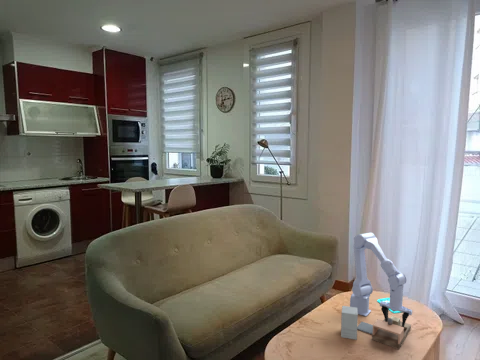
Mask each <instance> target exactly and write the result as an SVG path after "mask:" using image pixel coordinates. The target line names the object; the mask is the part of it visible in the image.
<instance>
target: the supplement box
mask: <svg viewBox="0 0 480 360" xmlns="http://www.w3.org/2000/svg"><path fill="white" fill-rule="evenodd" d="M358 316H359V314H358V310H357V308H355V307H350V306H349V305H347V306H346V305H342V307H341V326H340V327H341V328H340V337H341V338H344V339H345V338H346V339H350V340H356V341H357V340H358V330H357V326H358V322H359V321H358V318H359V317H358Z"/></svg>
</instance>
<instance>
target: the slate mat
mask: <svg viewBox="0 0 480 360" xmlns="http://www.w3.org/2000/svg"><path fill="white" fill-rule="evenodd" d="M357 331H360V332H364V333H366V334H369V335H371V336H372V335H373V324H371V323H367V322H364V321H361V322H360V323H359V324H357Z"/></svg>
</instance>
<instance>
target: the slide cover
mask: <svg viewBox="0 0 480 360" xmlns="http://www.w3.org/2000/svg"><path fill="white" fill-rule="evenodd" d="M372 325H373V335H374V334H375V333H376V332H377V330H378V329H382V330H385V331H388V332H391V333H394V334H397V335H398V344H400V342H401V341H402V339H403V335H404V333H405V331H404V327H401V326H398V325H395V324H392V319H391V317H388V322H385V321H383V320H382V319H379V318H377V319H376V320H375V321H374V323H373V324H372Z"/></svg>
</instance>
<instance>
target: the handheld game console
mask: <svg viewBox="0 0 480 360" xmlns="http://www.w3.org/2000/svg"><path fill="white" fill-rule="evenodd" d="M381 301H382V302H388V303H390V297H385V298H384V297H383V298H379V299H377V301H376V302H377V303H379V304H380V302H381ZM389 311H390V312H391V313H392V314H401V313H402V312H400V311H393V310H391V309H390V308H389ZM389 311H388V312H389Z"/></svg>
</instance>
